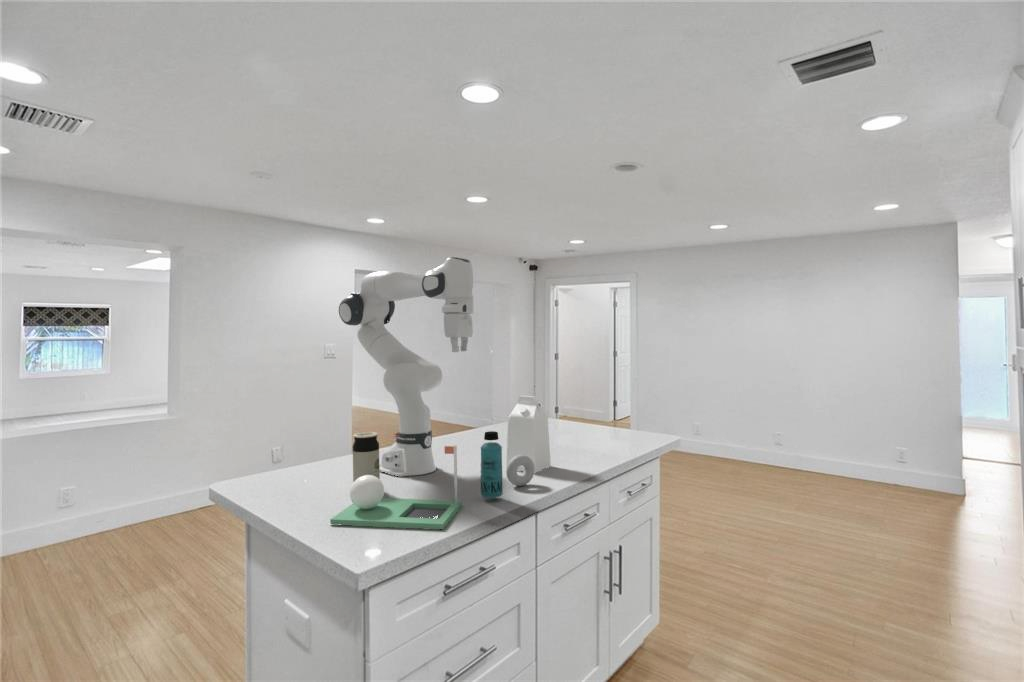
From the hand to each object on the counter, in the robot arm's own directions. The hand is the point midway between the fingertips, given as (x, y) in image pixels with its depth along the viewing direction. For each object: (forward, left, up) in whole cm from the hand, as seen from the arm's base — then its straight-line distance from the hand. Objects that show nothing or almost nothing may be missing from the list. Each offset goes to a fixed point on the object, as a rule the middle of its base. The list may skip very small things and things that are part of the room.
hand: (459, 351), depth 161 cm
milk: (+8, +30, -44) cm, 54 cm away
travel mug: (-25, -17, -43) cm, 53 cm away
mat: (-1, -29, -43) cm, 52 cm away
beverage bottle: (+15, -7, -43) cm, 46 cm away
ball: (-9, -32, -37) cm, 50 cm away
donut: (+16, +9, -43) cm, 47 cm away
